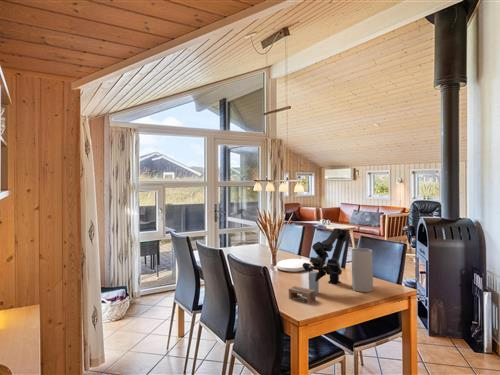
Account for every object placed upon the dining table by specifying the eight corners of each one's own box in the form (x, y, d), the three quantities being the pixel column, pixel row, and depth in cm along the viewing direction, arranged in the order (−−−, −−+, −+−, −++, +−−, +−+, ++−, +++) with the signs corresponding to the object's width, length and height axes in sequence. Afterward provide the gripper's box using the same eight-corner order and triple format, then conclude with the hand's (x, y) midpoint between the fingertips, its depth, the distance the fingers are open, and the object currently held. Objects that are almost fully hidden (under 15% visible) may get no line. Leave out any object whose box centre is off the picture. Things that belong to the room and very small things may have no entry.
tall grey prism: (311, 291, 212) (310, 270, 212) (319, 293, 208) (319, 272, 208) (301, 295, 204) (301, 274, 203) (310, 297, 200) (310, 276, 200)
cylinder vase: (364, 285, 221) (363, 247, 221) (377, 291, 209) (376, 250, 209) (348, 288, 217) (347, 249, 216) (360, 293, 205) (360, 252, 205)
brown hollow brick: (295, 294, 206) (295, 286, 205) (315, 299, 196) (315, 290, 196) (288, 298, 200) (288, 288, 200) (309, 303, 191) (309, 293, 191)
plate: (298, 268, 250) (269, 264, 267) (299, 277, 251) (270, 272, 268) (316, 257, 272) (288, 254, 288) (317, 265, 272) (289, 261, 289)
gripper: (303, 250, 217) (294, 270, 209) (329, 253, 205) (321, 275, 197) (310, 260, 223) (301, 280, 215) (336, 264, 211) (327, 285, 203)
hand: (312, 280), depth 207 cm, fingers closed on tall grey prism, 4 cm apart
